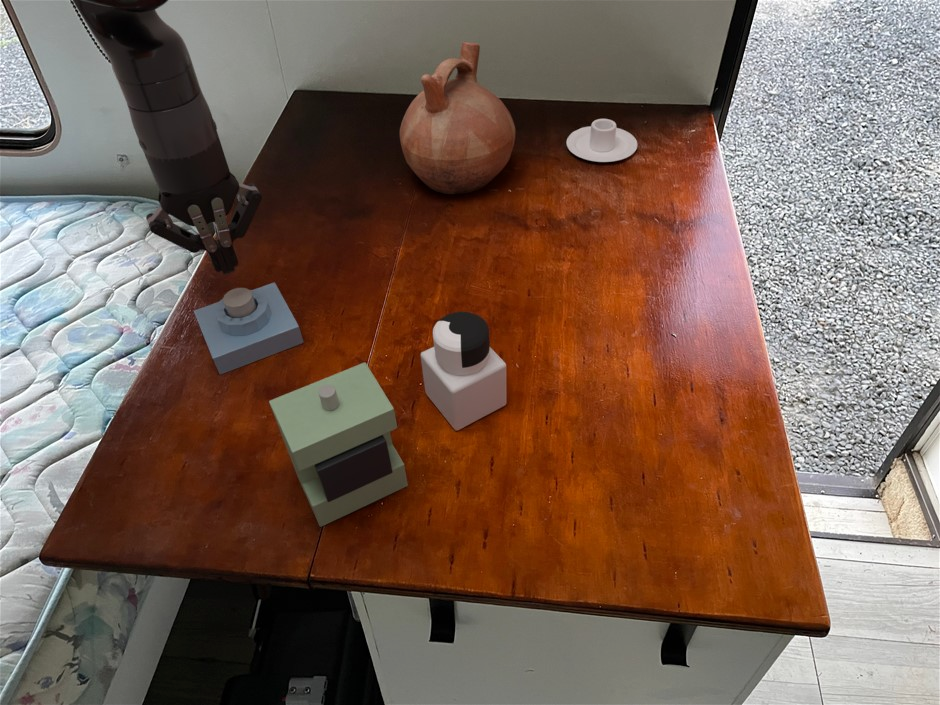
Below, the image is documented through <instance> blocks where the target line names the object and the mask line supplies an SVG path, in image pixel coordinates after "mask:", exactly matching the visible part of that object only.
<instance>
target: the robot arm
mask: <svg viewBox="0 0 940 705" xmlns="http://www.w3.org/2000/svg"><path fill="white" fill-rule="evenodd" d="M72 2H73V4H74V6H75V7H76V8H77V10H78V12H79V13H80V16H81V17H82V18H83V20H84V22H85V23H86V25H87V27H88V28H89V30H90V31H91V33H92V35H93V37H94V38H95V40H96V41H97V42H98V43H99V45H100V47H101V48H102V50H103V51H104V53H105V54H106V56H107V58H108V60H109V62H110V64H111V67H112V70H113V73H114V76H115V78H116V82H118V86H119V88H120V91H121V93H122V95H123V98H124V100H125V102H126V105H127V108H128V112H129V116H130V120H131V124H132V126H133V129H134V132H135V133H136V136H137V140H138V144H139V146H140V148H141V149H142V152H143V154H144V156H145V159H146V162H147V164H148V166H149V168H150V171H151V174H152V176H153V178H154V181H155V183H156V186H157V189H158V196H157V200H158V204H159V206H158V207H157V209H156V210H155V211H154V212H150V213H148V214H147V215H146V216H145V220H146V223H147V225H148V228H149V230H150V232H151V233H152V234H154V235H156V236H158V237H159V238H162V239H164V240H166V241H168V242H170V243H172V244H174V245H175V246H178V247H180V248H182V249H183V250H186V251H188V252H190V253H192V254H196V253H198V252H200V251H205V252H207V255H208V257H209V259H210V262H211V265H212V267H213V269H214V270H215V271H216V272H217V273H220V272H221V273H222V275H223V276H225V275H228V274H231V273H234V272H236V269H235V267H238V266H239V259H238V257H237V253H236V250H235V248H234V245H233V244H234V241H235V240H237V239H242V238H245V236H246V234H247V232H248V230H249V228H250V225H251V223H252V221H253V219H254V216H255V215H256V212H257V211H258V208H259V206H260V204H261V202H262V199H263V195H262V194H261V192H260V191H259V189H258V187H257V186H256V184H255V183H253V182H250V183H247V184H244V183H241V182H239V181H238V179H237V178H236V176H235V174H233V173H232V172H231V171H230V168H229V164H228V160H227V158H226V155H225V152H224V149H223V145H222V143H221V140H220V136H219V133H218V127H217V123H216V121H215V119H214V116H213V114H212V111H211V109H210V106H209V104H208V101H207V100H206V98H205V95H204V93H203V91H202V89H201V86H200V83H199V80H198V77H197V76H198V75H197V73H196V71H195V67H194V64H193V61H192V58H191V55H190V52H189V50H188V47H187V45H186V42H185V41H184V39H183V37H182V36H181V35H180V34H179V32H178V31H176V29H174V28H173V27H171V26H170V25H169V24H167V23H166V21H164V19H162V18H161V16H160V15H159V14H158V12H157V9H159V8H161V7H162V6H164V5H165V4H166V3H167V2H169V0H72ZM236 199H237V200H238V203H237V204H236V207H235V209H234V211H233V214H232V215H231V218H230V220H229V222H228V218H227V216H228V215H229V214H230V212H231V211H232V208H233V205H234V204H235V200H236ZM172 217H174V218H175V219H177V220H179V222H180V221H181V222H182V223H184V224H185V225H188V226H190V227H194V228H195V229H196V231H197V233H198V234H194V233H193V232H192V231H190V230H187V229H185V228H183V227H181V226H179V225H178V224H175V223H174V221H173V219H172ZM211 223H212V224H213V227H214V231H215V235H216V237H217V239H215V237H214V236H213V234H212V232H211V229H210V228H209V224H211Z"/></svg>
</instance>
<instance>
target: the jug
mask: <svg viewBox="0 0 940 705" xmlns="http://www.w3.org/2000/svg"><path fill="white" fill-rule="evenodd" d="M460 48H461V49H460V55H459V58H453V57H451V58H447V59H445V60H443V61H441V63H440V64H438V66H437V67H436V69H435V71H434V73H433V74H431V75H430V74H428V73H425V74H424V75H422V76H421V77H420V81H421V84H422V88H423V90H422V91H421V92H419V93H418V94H417V95H416V97H415V98H414V99H413V100H412V101H411V103H410V104H409V106H408V108H406V111H405V114H404V115H403V118H402V121H401V123H400V127H399V141H400V142H399V143H400V146H401V150H402V153H403V156H404V159H405V162H406V163H407V166H409V168H410V169H411V171H412V172H413V173H414V174H415V175H416V176H417V177H418V179H420V180H421V182H422V183H424V185H426V186H427V187H428V188H429V189H430V190H433V191H435V192H437V193H441V194H444V195H463V194H470V193H472V192H475V191H478V190H481V189H482V188H485V186H487V185H488V184H490V183H491V181H493V179H494V178H495V177H497V176H498V175H499V174H500V172H501V171H502V170H504V168H505V167H506V165H507V164H508V163H509V161H510V158H511V156H512V152H513V150H514V149H513V148H514V146H515V142H516V126H515V122H514V119H513V117H512V115H511V112H510V111H509V110H508V108H507V106H506V105H505V104H504V102H503V101H502V100H501V99H500V98H499V97H498V96H497V95H496V94H495V93H493V92H492V91H491V90H489V89H488V88H487V87H485V86H483V85H482V84H480V83H479V82H478V78H477V74H478V65H479V58H480V52H481V50H480V48H481V46H480V44H479V43H473V42H471V43H470V42H467V41H462V44H461V47H460ZM455 69H456V72H457V73H456V75H455V77H454V78H453V79H450V78H451V76H452V74H453V72H454V71H455Z"/></svg>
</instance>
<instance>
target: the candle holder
mask: <svg viewBox="0 0 940 705" xmlns="http://www.w3.org/2000/svg"><path fill="white" fill-rule="evenodd" d="M566 147H567V149H568V150H569V152H570V153H572V154H573V155H574V156H576V157H578V158H581V159H583V160H586V161H589V162H590V161H591V162H597V163H609V162H610V163H611V162H617V161H622V160H624V159H627V158H629V157H631V156H632V155H634V153H635V152H636V150H637V149H638V140H637V139H636V137H635V136H634V135H633V134H631V133H630V132H629V131H627V130H624V129H623V128H619V127H617V123H616V122H615V121H614V120H612V119H608V118H598V119H595V120H593V121H592V123H591V125H590V126H583V127H581V128H579V129H576V130H574V131H572V132H571V133H570V134H569V135H568V136H567V139H566Z"/></svg>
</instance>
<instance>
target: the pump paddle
mask: <svg viewBox="0 0 940 705" xmlns="http://www.w3.org/2000/svg"><path fill="white" fill-rule="evenodd" d="M314 466H315V469H316V471H317V474H318V477H319V480H320V483H321V486H322V489H323V492H324V495H325V497H326V499H327V501H328V502H330V501H333V500H335V499H337V498H339V497H341V496H343V495H346V494H348V493H350V492H352V491H354V490H356V489H359V488H361V487H363V486H365V485H367V484H369V483H372V482H374V481H376V480H378V479H380V478H382V477H385V476H387V475H389V474H391V473H393V471H392V466H391V461H390V456H389V452H388V447H387V442H386V439H385V438H384V436H383V435H381V436H379V437H376V438H374V439H372V440H369V441H367V442H365V443H363V444H360V445H358V446H356V447H354V448H351V449H349V450H347V451H345V452H342V453H340V454H338V455H335V456H333V457H331V458H329V459H326V460H324V461H322V462H320V463H317V464H315V465H314Z"/></svg>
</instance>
